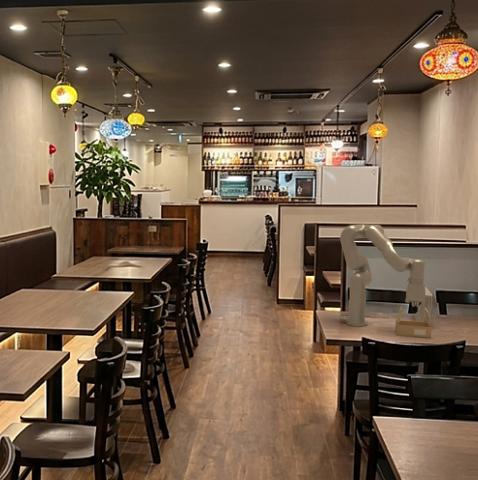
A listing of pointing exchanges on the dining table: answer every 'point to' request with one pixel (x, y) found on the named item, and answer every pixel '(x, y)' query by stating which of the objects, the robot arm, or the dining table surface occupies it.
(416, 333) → the carton
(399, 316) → the flap
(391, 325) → the dining table surface
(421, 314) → the packaging
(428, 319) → the flap
